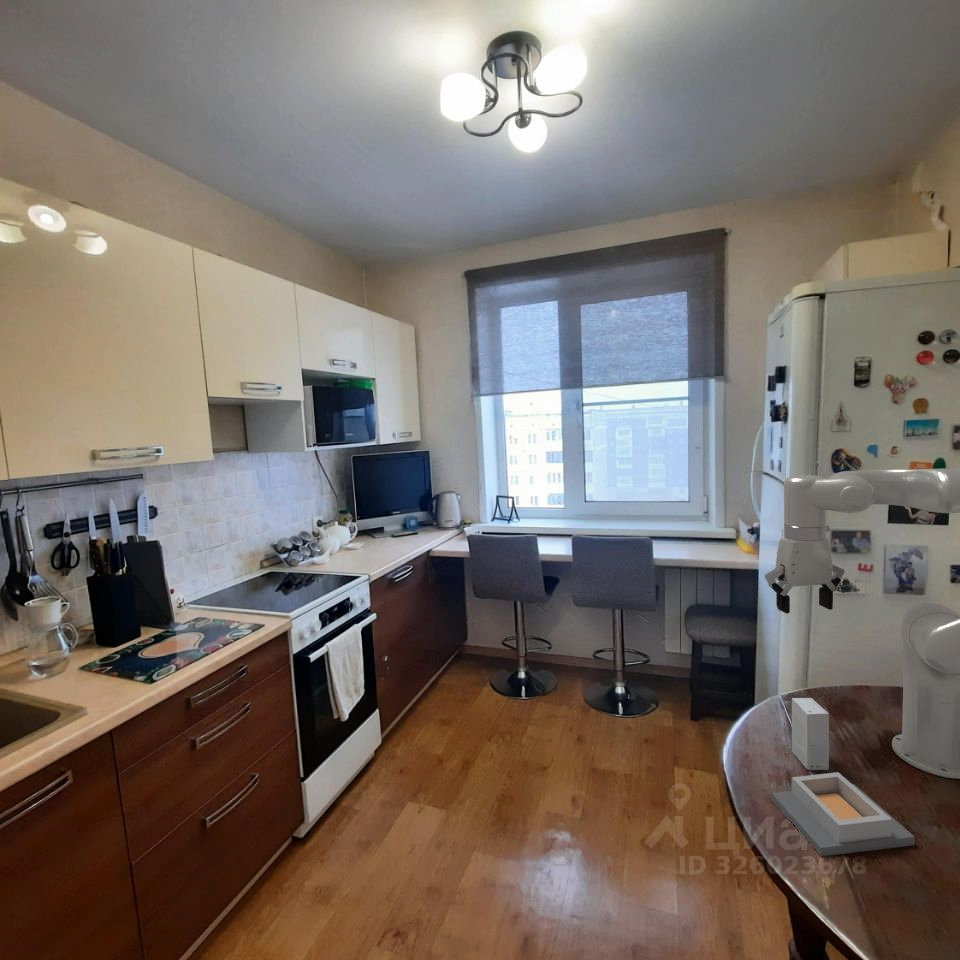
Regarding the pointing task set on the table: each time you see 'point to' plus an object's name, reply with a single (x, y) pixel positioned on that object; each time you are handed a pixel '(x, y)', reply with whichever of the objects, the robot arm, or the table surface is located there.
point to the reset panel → (828, 828)
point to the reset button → (839, 806)
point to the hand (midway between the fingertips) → (804, 609)
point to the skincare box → (810, 733)
